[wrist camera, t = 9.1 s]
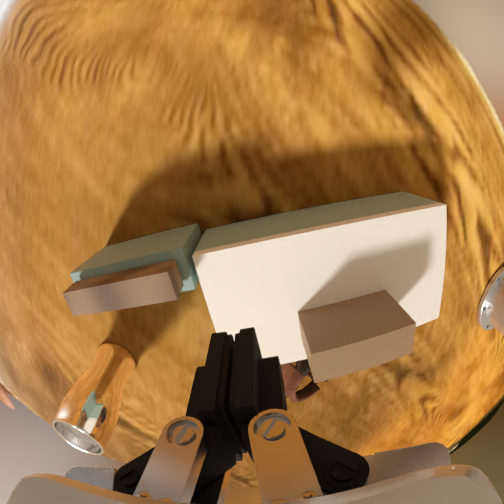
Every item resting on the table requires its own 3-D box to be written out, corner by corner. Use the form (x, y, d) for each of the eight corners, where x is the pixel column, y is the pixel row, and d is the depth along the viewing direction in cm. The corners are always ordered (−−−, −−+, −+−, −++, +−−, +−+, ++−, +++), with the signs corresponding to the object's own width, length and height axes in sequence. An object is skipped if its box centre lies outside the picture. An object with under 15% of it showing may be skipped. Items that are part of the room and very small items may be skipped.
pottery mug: (273, 302, 32) (322, 343, 25) (311, 323, 38) (353, 355, 31) (216, 378, 32) (251, 426, 25) (262, 386, 38) (296, 423, 31)
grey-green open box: (402, 184, 27) (444, 195, 19) (404, 285, 31) (437, 317, 24) (105, 246, 28) (70, 273, 21) (143, 339, 32) (124, 380, 25)
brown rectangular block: (175, 259, 20) (167, 271, 18) (183, 285, 21) (177, 300, 19) (76, 281, 21) (62, 293, 18) (85, 302, 21) (73, 316, 19)
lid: (432, 200, 22) (488, 219, 14) (428, 307, 25) (466, 346, 18) (196, 246, 22) (175, 289, 15) (231, 358, 26) (229, 417, 19)
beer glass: (97, 367, 34) (58, 440, 20) (94, 333, 32) (43, 410, 18) (138, 381, 35) (109, 462, 21) (139, 348, 33) (100, 436, 19)
